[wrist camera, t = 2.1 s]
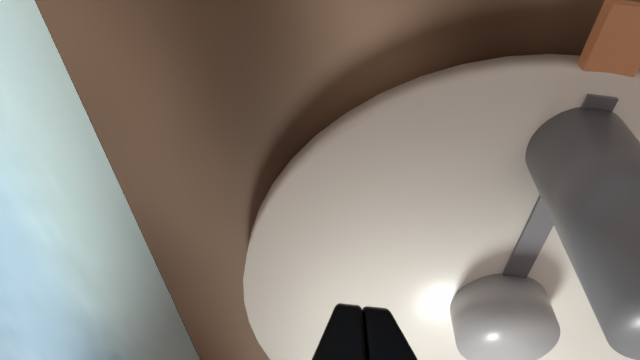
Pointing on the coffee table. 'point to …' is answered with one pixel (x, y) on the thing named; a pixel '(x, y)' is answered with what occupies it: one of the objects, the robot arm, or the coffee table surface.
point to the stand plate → (257, 108)
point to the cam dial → (469, 211)
